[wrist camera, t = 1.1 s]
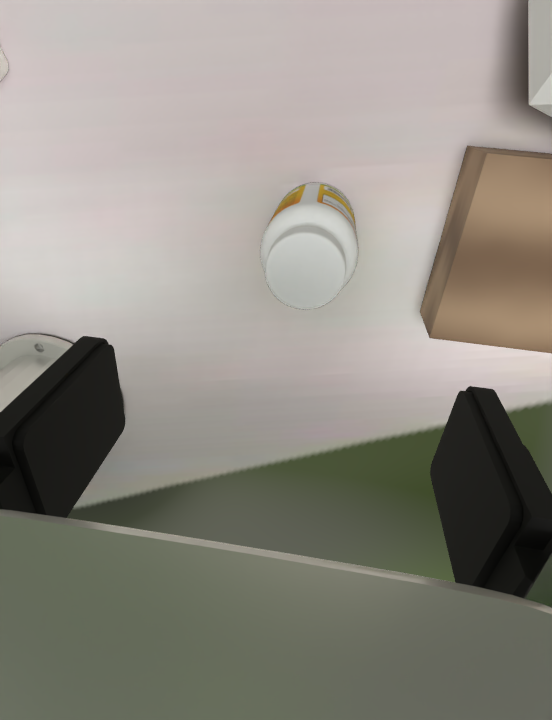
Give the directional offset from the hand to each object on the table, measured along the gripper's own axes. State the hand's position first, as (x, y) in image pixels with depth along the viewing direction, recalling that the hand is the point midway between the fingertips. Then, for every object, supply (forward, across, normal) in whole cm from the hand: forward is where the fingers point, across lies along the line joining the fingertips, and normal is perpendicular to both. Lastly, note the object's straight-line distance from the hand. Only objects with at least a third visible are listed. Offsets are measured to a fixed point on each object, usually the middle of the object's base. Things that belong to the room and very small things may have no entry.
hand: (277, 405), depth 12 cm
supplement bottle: (+20, 0, 0) cm, 21 cm away
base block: (+20, -14, 0) cm, 25 cm away
